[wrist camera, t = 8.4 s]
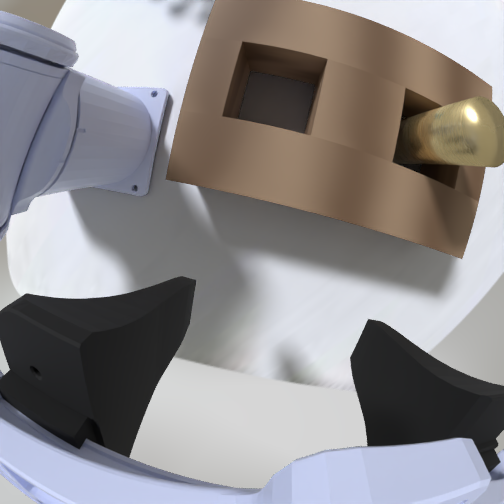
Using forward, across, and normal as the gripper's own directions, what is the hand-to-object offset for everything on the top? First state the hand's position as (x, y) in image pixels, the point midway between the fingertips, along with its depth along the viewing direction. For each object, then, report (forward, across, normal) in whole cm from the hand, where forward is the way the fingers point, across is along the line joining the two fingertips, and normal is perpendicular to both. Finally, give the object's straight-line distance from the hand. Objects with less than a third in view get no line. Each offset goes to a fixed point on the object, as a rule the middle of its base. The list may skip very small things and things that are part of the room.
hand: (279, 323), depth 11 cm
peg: (+9, -6, -10) cm, 15 cm away
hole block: (+9, -2, -10) cm, 14 cm away
